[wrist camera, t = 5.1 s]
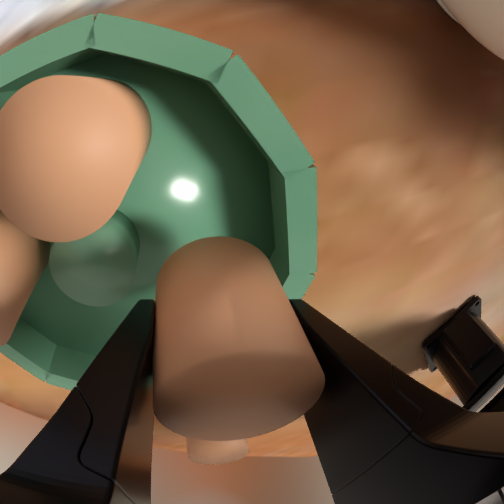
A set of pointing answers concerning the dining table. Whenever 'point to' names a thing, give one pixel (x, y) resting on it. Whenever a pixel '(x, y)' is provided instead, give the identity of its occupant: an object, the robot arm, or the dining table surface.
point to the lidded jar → (480, 21)
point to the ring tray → (163, 183)
